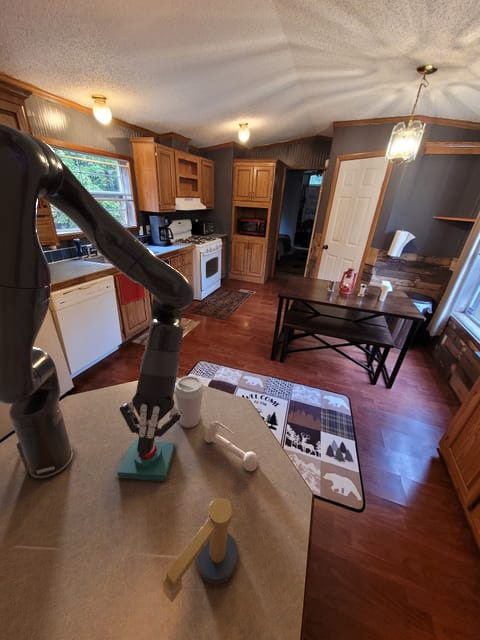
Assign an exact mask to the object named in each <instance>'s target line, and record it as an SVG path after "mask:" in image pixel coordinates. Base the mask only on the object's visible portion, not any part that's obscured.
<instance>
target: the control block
mask: <svg viewBox="0 0 480 640" xmlns="http://www.w3.org/2000/svg"><path fill="white" fill-rule="evenodd" d="M138 441H139V439H133V440H132V442H131V444H130V446H129V448H128V450H127V452H126V454H125V456H124V458H123V460H122V462H121V464H120V466H119V469H118V470H117V477H118V479H130V480H141V481H142V480H145V481H159V482H166V480H167V476H168V474H169V470H170V466H171V463H172V459H173V456H174V453H175V449H176V442H174V441H160V440H159V441H158V440H154V444H155V450H156V452H155V454H154V456H153V457H151V458H149V459H142V458H141V457H140V455H139V452H137V446H138Z"/></svg>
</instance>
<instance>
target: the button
mask: <svg viewBox="0 0 480 640" xmlns="http://www.w3.org/2000/svg"><path fill="white" fill-rule="evenodd" d="M155 452H156V450H155V444H153V449H152V450H151V452H150V453H148V454H147V456H141V455H140V457H141V458H142V459H149V458H151V457H153V456H154V454H155Z"/></svg>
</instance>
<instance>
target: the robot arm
mask: <svg viewBox="0 0 480 640" xmlns="http://www.w3.org/2000/svg"><path fill="white" fill-rule="evenodd" d="M39 198H41V199H42V200H44V202H45V201H46V202H47V203H49V204H50V205H52V206H53V207H54V208H56V209H57V210H59V211H60V212H61V213H63V214H64V215H65V216H66V217H68V219H69V220H70V221H72V222H73V224H75V225H76V226H77V227H78V229H79V230H80V231H81V232H82V233H83V235H84V236H85V237H86V239H87V240H88V241H89V242H90V244H91V245H92V247H94V249H95V250H96V251H97V252H98V253H99V254H100V255H101V256H102V257H103V258H104V259H105V260H106V261H107V262H108V263H109V264H111V265H112V266H113V267H114V268H115V269H116V270H117V271H119V272H120V273H121V274H123V275H124V276H125V277H126V278H127V279H129V280H130V281H132V282H133V283H135V284H138V285H140V286H142V287H143V288H144V289H145V290H147V291H148V292H149V294H151V295H152V302H151V312H150V323H149V324H150V326H149V329H148V332H147V338H146V343H145V349H144V351H143V355H142V357H141V364H140V369H139V374H138V379H137V385H136V390H135V394H134V395H133V397H132V398H131V401H128V402H125V403H124V404H123V405H121V406H120V407H119V411H120V413H121V416H122V418H123V419H124V421H125V423H126V425H127V426H128V428H129V430H130V432H131V433H132V434H137V435H138V440H139V441H138V446H137V452H139V455H141V456H147V454H148V453H150V452H151V450H152V449H153V444H154V441H155V438H156V437H158V438H161V437H162V436H163V435H164V434H166V433H167V432H168V431H169V430H170V429H171V428H172V427H173V426H174V425H175V424H176V423H178V422H179V419H180V418H181V416H182V412H181V411H178V408H177V407H176V406H175V400H174V395H175V394H174V389H175V384H176V383H177V379H178V378H177V377H178V373H179V369H180V357H181V356H180V355H181V348H182V343H183V337H184V327H183V325H182V316H183V310H185V309H186V308H188V307H189V306H190V305H191V304H192V303H193V300H194V297H195V294H194V293H195V292H194V288H193V285H192V284H191V282H190V281H189V280H188V279H187V277H185V276H184V275H183V274H182V273H181V272H179V271H178V270H177V269H175V268H174V267H172V266H171V265H170V264H168V263H167V262H165V261H163V260H162V259H161V258H159V257H158V256H156V255H155V253H153V251H152V250H151V249H149V247H147V246H146V244H144V243H143V242H142V241H141V240H140V239H138V238H137V237H136V236H135V235H134V234H133V233H132V232H131V231H130V230H129V229H128V228H127V227H125V226H124V224H122V223H121V222H119V220H117V218H115V217H114V216H113V215H112V214H111V213H110V212H109V211H108V210H107V209H106V208H105V207H104V206H103V205H102V204H101V203H100V202H99V201H98V200H97V199H96V198H95V197H94V196H93V195H92V194H91V193H90V191H89V190H88V189H87V188H86V187H85V185H84V184H83V183H82V182H81V181H80V180H79V179H78V177H77V176H76V175H75V174H74V173H73V172H72V170H71V169H70V168H69V167H68V166H67V164H66V163H65V162H64V161H63V160H62V158H60V156H59V155H58V153H56V152H55V150H53V148H52V147H51V146H50V145H49V144H47V143H46V142H45V141H44V140H41V138H38V137H36V136H34V135H32V134H30V133H27V132H25V131H22V130H20V129H18V128H15V127H13V126H10V125H7V124H4V123H0V403H2V404H6V405H10V408H9V411H8V416H9V419H10V422H11V423H12V427H13V429H14V432H15V435H16V438H17V441H18V442H17V444H16V448H17V450H18V453H19V456H20V459H21V462H22V464H23V467H24V468H25V472H26V473H29V474H30V476H31V477H32V478H34V479H37V480H42V479H43V480H44V479H49V478H52V477H53V476H56V475H58V474H59V473H61V472H62V471H64V470H65V469H67V467H68V466H69V465H70V463H72V460H73V457H74V451H73V448H72V445H71V442H70V438H69V434H68V431H67V427H66V423H65V419H64V415H63V412H62V408H61V404H60V397H61V385H60V381H59V375H58V371H57V367H56V364H55V362H54V360H53V358H52V357H51V356H50V354H48V353H47V352H46V351H45V350H44V349H41V348H38V347H34V346H35V343H36V340H37V338H38V335H39V333H40V330H41V329H42V326H43V324H44V321H45V319H46V317H47V314H48V311H49V308H50V304H51V292H52V271H51V268H50V265H49V262H48V259H47V256H46V254H45V252H44V250H43V248H42V245H41V244H40V243H41V242H40V240H39V236H38V232H37V207H38V201H39V200H38V199H39ZM135 411H136V412H135ZM169 413H170V414H169ZM136 414H137V415H136ZM167 414H169V415H168V420H166V422H165V423H164V424H162V426H159V424H160V422H161V420H162V419H164V418H165V417H166V416H167ZM137 416H138V417H139V419H138V417H137Z"/></svg>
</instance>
